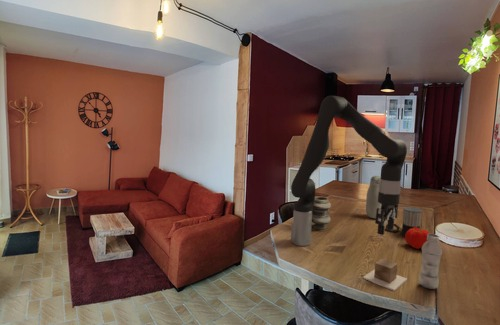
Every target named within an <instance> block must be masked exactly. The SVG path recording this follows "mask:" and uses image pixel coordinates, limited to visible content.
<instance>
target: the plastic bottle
mask: <svg viewBox="0 0 500 325" xmlns="http://www.w3.org/2000/svg"><path fill="white" fill-rule="evenodd" d="M439 238H440V236H439V235H438V234H433V233H429V234H428V235H427V241H426V242H425V243H424V244H423V246H422V249H421V256H422V257H421V267H420V272H419V275H418V282H419V284H420V285H421V286H422V287H424V288H425V289H430V290H435V289H437V288H438V286H439V285H440V284H439V282H440V281H439V278H440V277H439V267H440V261H441V257H442V254H443V250H442V247H441V245H440V244H439V242H440V239H439Z"/></svg>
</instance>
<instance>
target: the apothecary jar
mask: <svg viewBox="0 0 500 325" xmlns="http://www.w3.org/2000/svg"><path fill="white" fill-rule="evenodd" d="M331 207H332V204H331V202H330V201H329V198H328V197H327V196H318V195H317V196H315V201H314V205H313V208H312V223H313V224H312V226H311V230H314V231H320V232H323V231H324V232H325V231H327V230H329V227H328V226H327V224H329V223H330V222H331V219H332V218H331V216H330V215H329V212H330V208H331Z"/></svg>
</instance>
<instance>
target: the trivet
mask: <svg viewBox="0 0 500 325" xmlns="http://www.w3.org/2000/svg"><path fill="white" fill-rule="evenodd" d="M374 274H375V268H374V269H373V270H371V271H369V272H368V273H367V274H365V275H364V276H363V277H362V279H363V280H367V281H369V282H371V283H373V284H375V285H379V286H381V287H384V288H386V289H388V290H391V291H394V292H395V291H397V290H398V289H399V288H400V287H401V286H403V285H404V283H406V282H407V281H408V278H407V277H404V276H401V275H398V274H397V276H396V279H395V280H394V281H392V282H391V283H387V282H385V281H382V280H380V279H377V278H375V277H374Z"/></svg>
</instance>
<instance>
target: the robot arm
mask: <svg viewBox="0 0 500 325" xmlns="http://www.w3.org/2000/svg"><path fill="white" fill-rule="evenodd" d="M334 118H336V119H337V118H339V119H341V120H343V121H345V122H346V123H348V124H349V125H350V126H351V127H352V128H353V130H354V131H355V132H356V133H357V135H359V136H360V138H362V139H364V140H365V141H367V143H370V145H371V146H372V147H373V148H374V149H375V151H376V152H378V153H379V154H380V155H381V156H383V157H384V158H386V161H385V163H384V164H382V166H381V170H380V183H379V192H378V202H379V203H381V204H382V205H381V209H380V208H377V211H376V219H375V221H374V223H375V224H376V225H377V234H378V235H381V236H383V235H385V230H386V225H387V228H388V229H390V230H394V227H395V226H394V224H395V221H396V219H397V218H398V214H399V205H400V200H401V189H402V187H401V186H402V185H401V183H402V182H401V180H402V169H403V167H404V164H405V160H406V157H407V151H408V148H407V143H405V141H404V140H403V139H399V138H393V139H392V138H390V137H389V136H388V135H386V131H385V130H384V129H383V128H382V127H380V126H379V125H377V124H376V123H374V122H373V121H371V120H370V119H369V118H367V117H365V116H364V115H363V114H362V113H360V112H359V111H358V110H357V109H356V108H355V107H354V106H353V105H352V104H351V103H350V102H349V101H348V100H347V99H346V98H345V97H342V96H338V95H337V96H336V95H327V96H326V97H325V98H323V99H322V102H321V104H320V106H319V112H318V114H317V118H316V122H315V126H314V128H313V131H312V135H311V137H310V138H309V139H310V140H309V142H308V144H307V147H306V149H305V153H304V155H303V158H302V161H301V163H300V166H299V167H298V170H297V173H296V174H295V176H294V178H293V181H292V182H291V186H290V191H291V194H292V196H293V197H295V198H298V200H297V201H295V203H293V218H292V223H291V226H290V228H291V229H290V230H291V231H290V242H292V244H294V245H295V246H299V247H308V246H310V245H311V244H312V240H311V239H312V228H311V226H312V225H313V224H312V223H313V222H312V208H313V205H314V201H315V197H316V183H315V181H314V179H312V178H311V176H313V174H314V172H316V170H317V169H318V168H319V167H320V165H321V164H322V163H323V161H324V160H325V158H326V155H327V154H328V151H329V148H330V136H329V134H330V133H329V132H330V128H331V125H332V122H333V120H334Z"/></svg>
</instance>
